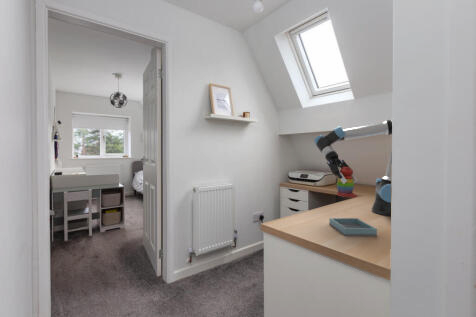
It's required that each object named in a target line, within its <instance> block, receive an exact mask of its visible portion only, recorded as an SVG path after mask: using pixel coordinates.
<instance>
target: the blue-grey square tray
mask: <svg viewBox="0 0 476 317" xmlns="http://www.w3.org/2000/svg"><path fill="white" fill-rule="evenodd" d="M328 223H329V225H330V226H331V227H333V228H334V229H335V230H336V231H338V232H339V233H340V234H342V235H343V236H344V237H377V236H378V229H377V228H376V227H374V226H372V225H370V224H369V223H367V222H365V221H363V220H361V219H360V218H358V217H356V218H355V217H353V218H352V217H350V218H349V217H337V218H336V217H329V222H328Z"/></svg>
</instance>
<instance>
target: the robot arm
mask: <svg viewBox="0 0 476 317" xmlns="http://www.w3.org/2000/svg"><path fill="white" fill-rule="evenodd" d="M392 119H393V118H392ZM392 119H387V120H385V121H383V122H380V123H373V124H368V125H363V126H357V127H351V128H350V127H349V128H346V129H343V128H342V127H341V126H337V127H335V128H334V129H332V130H331V131H330V132H329V133H327V134H325V135H322V134H320V135H317V136H316V137H315V138H314V140H313V142H314V144H315V145H316V148H318V149H319V151H320V152H321V155H323V157H324V158H325V159H326V164H327V165H328V166H329V167H328V168H329V169H330V170H331V173H332V174H333V175H334V176H335V177H336V176H337V177H338V178H340V180H341V181H342V183H343V184H345V183H346V182H347V180H346V179H345V177H344V176H343V175H342V173H340V170H339V168H340V169H341V168H342V167H343V166H344V167H349V168H350V169H351V170H352V171H353V172H354V170H353V169H352V168H351V167H350V166H349V165H348V164H347V162H345V160H344V159H342V160H341V159H340V158H339V154H338V153H337V151H335V148H333V146H332V145H333V144H335V143H337V142H341V141H347V140H353V139H360V138H365V137H366V138H367V137H372V136H373V137H374V136H380V135H386V136H389V135H392ZM390 149H391V150H390V153H389V157H388V163H387V165H386V171H385V175H384V176H382V177H381V178H376V179H375V180H376V181H375V195H374V196H375V197H374V202H373V204H372V207H371V212H373V213H374V214H377V215H382V216H388V217H389V216H391V164H392V147H391V148H390ZM351 177H352V179H353V183H354V184H355V183H356V182H358V179H357V178H356V176H355V175H354V174H352V175H351Z"/></svg>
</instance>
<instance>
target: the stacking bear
mask: <svg viewBox="0 0 476 317" xmlns="http://www.w3.org/2000/svg"><path fill="white" fill-rule="evenodd" d="M349 167H350V166H349ZM349 167H344V166H343V167H342V168H340V170H339V172H340V173H342V175H343V176H344V177H345V179H346V180H347V182H346V183H345V184H343V183H342V181H341V180H340V178H339V177H338V178H337V181H336V188H337V193H336V195H337V196H339V197H344V198H357V197H358V196H357V194H356V193H354V192H353V190H354V187H355V186H354V185H355V183H353V179H352V177H351V175H352V174H353V173H354V170H353V169H352V168H351V167H350V168H351V169H352V170H353V171H352V170H351V169H350V168H349ZM353 175H354V174H353Z"/></svg>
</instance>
